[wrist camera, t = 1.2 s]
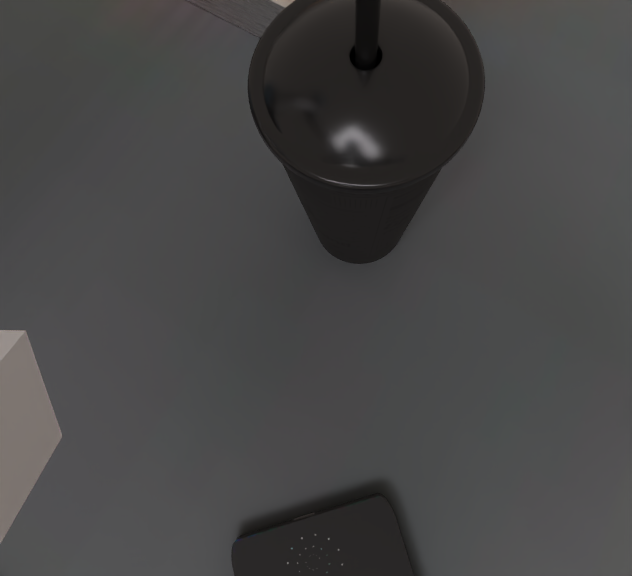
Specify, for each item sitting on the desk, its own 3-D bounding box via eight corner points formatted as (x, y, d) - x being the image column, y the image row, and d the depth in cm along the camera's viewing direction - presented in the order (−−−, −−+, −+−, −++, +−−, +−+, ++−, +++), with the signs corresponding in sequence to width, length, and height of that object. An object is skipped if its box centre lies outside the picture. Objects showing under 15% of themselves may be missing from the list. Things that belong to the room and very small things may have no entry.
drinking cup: (361, 131, 33) (377, -282, 14) (458, 223, 32) (630, -96, 12) (261, 218, 32) (128, -90, 13) (355, 318, 31) (365, 137, 11)
